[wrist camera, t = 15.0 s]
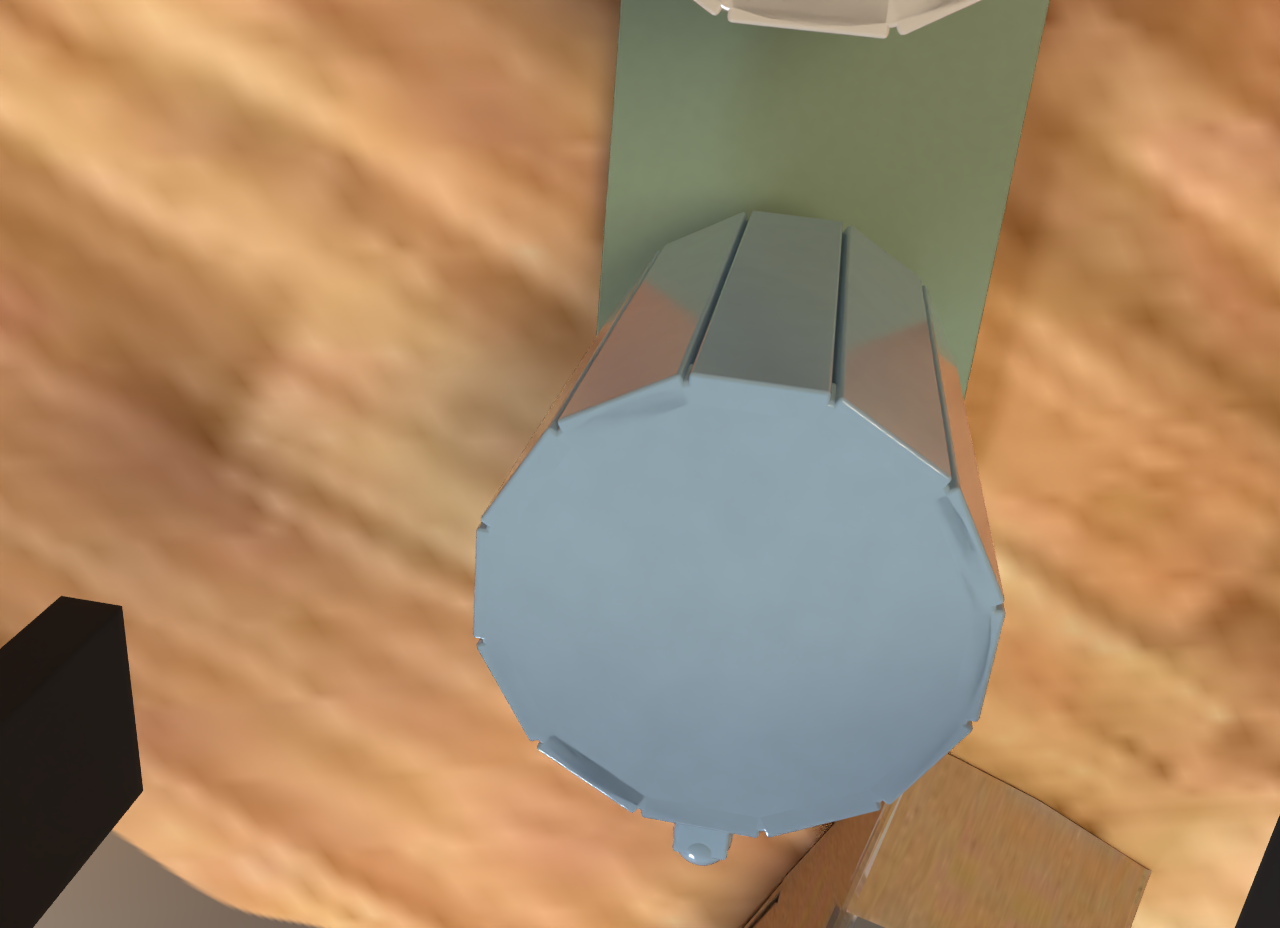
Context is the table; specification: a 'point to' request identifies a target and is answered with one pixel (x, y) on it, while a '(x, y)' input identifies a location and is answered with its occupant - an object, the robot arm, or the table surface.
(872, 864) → the sandwich container
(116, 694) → the robot arm
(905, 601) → the blue cup
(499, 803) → the table surface
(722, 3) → the cream cup
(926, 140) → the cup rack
